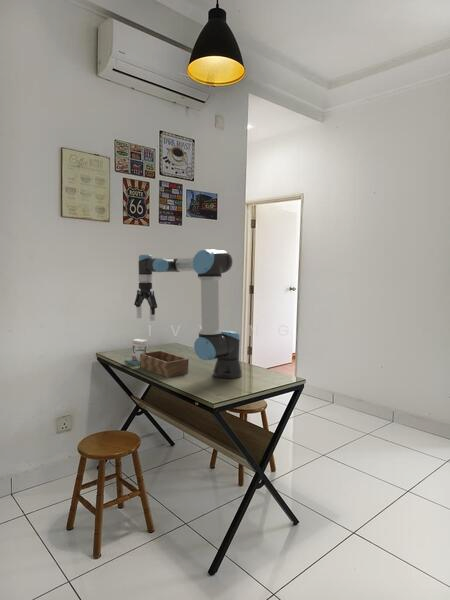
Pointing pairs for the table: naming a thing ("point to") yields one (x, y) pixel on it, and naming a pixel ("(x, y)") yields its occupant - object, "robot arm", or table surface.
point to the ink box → (139, 348)
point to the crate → (164, 363)
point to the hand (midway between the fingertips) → (145, 319)
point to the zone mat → (132, 362)
